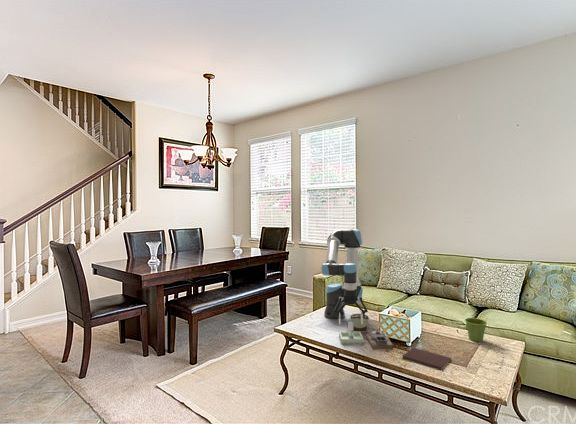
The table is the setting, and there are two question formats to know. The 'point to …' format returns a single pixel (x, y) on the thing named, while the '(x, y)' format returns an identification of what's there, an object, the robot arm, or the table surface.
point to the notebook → (426, 358)
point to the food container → (359, 323)
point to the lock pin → (350, 330)
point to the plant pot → (475, 328)
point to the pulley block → (378, 340)
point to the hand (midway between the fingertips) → (350, 323)
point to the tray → (345, 339)
